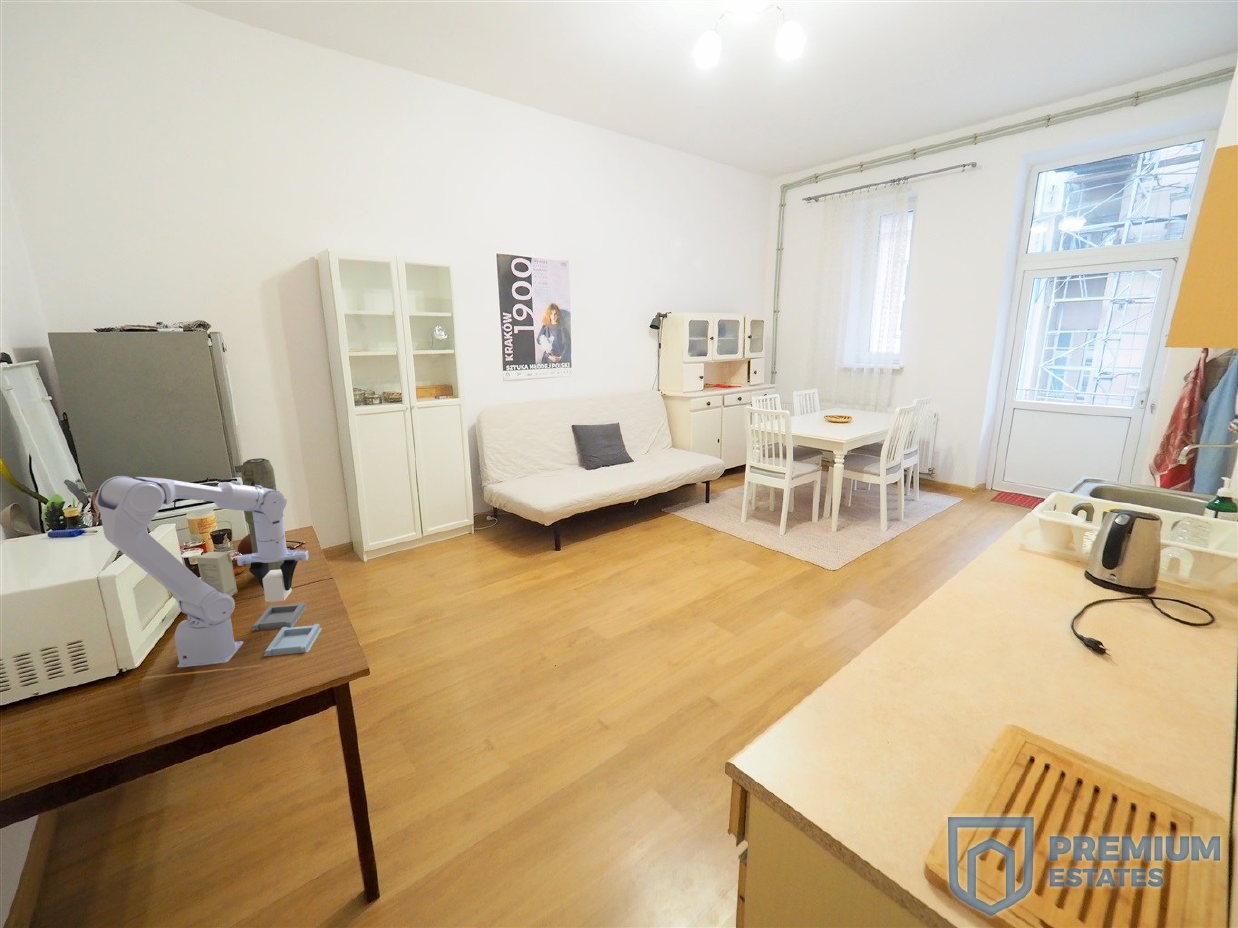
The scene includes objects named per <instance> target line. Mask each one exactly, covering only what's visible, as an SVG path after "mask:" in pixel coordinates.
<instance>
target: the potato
mask: <svg viewBox="0 0 1238 928" xmlns="http://www.w3.org/2000/svg"><path fill="white" fill-rule="evenodd" d="M238 552H239V553H241V554H242V555H246V554H252V546H251V539H250V533H249V534H247V535H245V536H244V537H243V538H242V539H241V540H240V541H239V543H238V545H237V552H236V553H238Z"/></svg>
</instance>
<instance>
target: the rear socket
mask: <svg viewBox="0 0 1238 928" xmlns="http://www.w3.org/2000/svg"><path fill="white" fill-rule="evenodd" d="M307 607H308V606H306V603H305V602H300V603H293V604H292V603H291V604H280V605H279V604H278V605H275V604H270V605H269V606H268V607H267V608H266V610H264V612H263V613H262V614H261V615H260V617H259V618H258V619H257V620H256V622H255V623H254V624H253V626H252V629H251V631H252V632H253V631H261V630H271V629H282V627H287V628H290V627H295V625H296V623H297V622H298V621H299V619H300V617H301V616H302V615H303V614H304V613H305V612H304V611H306V609H307Z"/></svg>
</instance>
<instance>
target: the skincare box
mask: <svg viewBox="0 0 1238 928" xmlns="http://www.w3.org/2000/svg"><path fill="white" fill-rule="evenodd" d="M231 555H232V554H231V552H229V551H208V552H206V553H203V554H201V555H199V556H197V557H196V561H197V565H198V571H199V575H200V576H199V577H200V580H201V581H203V582H204V583H206V584H208V585H209V586H211V587H213V588H214V589H216V590H217V591H218V592H220V593H223V594H228V595H230V596H231V597H233V596H234V595H235V594H237V593H238V588H237V581H236V577H235V572H234V566H233V562H232V556H231Z"/></svg>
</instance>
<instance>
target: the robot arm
mask: <svg viewBox="0 0 1238 928" xmlns="http://www.w3.org/2000/svg"><path fill="white" fill-rule="evenodd" d="M135 478H136V479H135ZM135 478H133V477H131V476H128V475H127V476H125V475H118V476H113V477H110V478H108V479H107V480H105V481H104V482H103V483H101V485H100V486H99V489H98V492H97V494H96V497H95V500H94V504H95V506H96V507H97V509H98V511H99V513H100V519H101V524H102V529H103V530H102V531H103V535H104V538H106V540H107V541H108V542H109V543H111V544H112V546H114V547H115V548H117V549H118V551H120V552H121V553H123V554H124V555H125V556H126V557H127V558H128V559H130V560H131V561H132V562H133V563H134V564H135V565H138V567H140V568H141V569H142V570H143V571H144V572H146V573H147V574H148V575H149V576H151V577H152V578H153V579H154V580H156V582H158V583H159V584H161V586H163V588H165V589H166V590H168V591H169V592H170V593H171V594H172V598H173V599H175V601H176V602H177V604H178V605H177V606H178V608H179V610H180V612H182V613H183V614H186V615H187V619H186V620H182V621H180V623H178V625H177V627H176V629H175V633H174V645H175V649H176V654H177V659H178V664H177V666H176V667H177V668H186V667H195V666H196V667H197V666H207V665H215V664H218V665H219V664H225V663H228V662H230V660H231V659H232V657H233V656H234V655H235V654H236V652H238V651H239V649H240V648H241V647H242V645H243V644H244V641H243V640H240V641H235V635H234V629H233V624H232V619H231V618H232V617H231V615H232V614H233V612H234V611H235V606H236V602H235V599H234V598H233V596H230V595H228V594H223V593H220V592H218V591H217V590H216V589H214V588H213V587H211V586H209V585H208V584H206V583H204V582H203V581H201V578H199V577H198V576H197V575H196V574H195V573H194V572H193V571H191V570H190V569H189V568H188V567H187V566H186V565H185V564H184V563H182V562H181V561H180V560H179V559H178V558H177V557H175V556H174V554H172V552H170V551H169V550H167V548H166V547H164V545H162V544H161V543H160V542H158V540H156V538H154V537H153V536H152V535H151V534H150V533H149V532H148V531H147V530H148V527H149V524H151V521H152V520H153V519H154V517H155V516H156V514H157V513H158V512H159V510H160V509H161V508H162V506H163V505H166V506H168V505H170V504H171V503H173V502H174V501H175V500H177V499H182V500H193V501H206V502H213V503H214V504H215V506H216V507H217V508H219V509H224V510H234V511H241V512H242V511H243V512H244V511H252V512H253V520H254V527H255V534H256V541H257V548H258V553H253V554H246V555H240V556H239V555H238V557H236V560H237V561H236V562H237V566H238V567H239V566H241V567H242V566H244V565H250V567H249V568H248V571H249V572H250V574H252V575H253V576H255V577H256V579H257V580H256V579H255V580H256V581H258V583H259V584H260V587H261V588H262V592H264V587H263V580H262V579H263V578H264V577H265V576H266V575H267V574H268V572H269V569H268V567H269V563H270V562H284V563H283V564H282V565H281V566H280V569H281V571H282V574H283V578H284V587H285V590H286V591H287V590H289V589H290V588H291V589H292V585H293V584H292V582H293V579H294V573H295V569H296V568H297V564H298V562H299V561H301V562H307V561H308V559H309V558H310V557H309V550H295V549H294V550H292V549H288V547H287V540H286V534H285V533H286V532H285V527H284V526H285V525H284V524H285V523H284V509H285V508H286V506H287V503H288V500H287V498H285V495H283V493H281V492H280V491H279V490H277V489H276V490H272V489H268V488H263V487H262V486H260V485H255V486H247V485H242V481H239V480H238V481H237V480H231V481H230V482H223V483H221V484H220V485H218V486H211V485H205V484H199V483H193V482H187V481H181V480H175V479H169V478H163V477H159V478H158V477H146V476H135ZM255 511H257V512H255ZM255 577H254V578H255Z"/></svg>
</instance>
